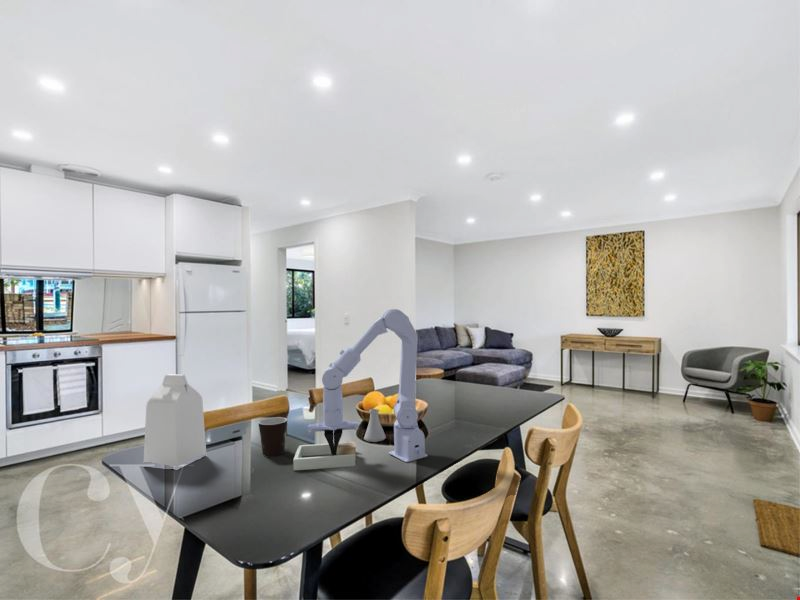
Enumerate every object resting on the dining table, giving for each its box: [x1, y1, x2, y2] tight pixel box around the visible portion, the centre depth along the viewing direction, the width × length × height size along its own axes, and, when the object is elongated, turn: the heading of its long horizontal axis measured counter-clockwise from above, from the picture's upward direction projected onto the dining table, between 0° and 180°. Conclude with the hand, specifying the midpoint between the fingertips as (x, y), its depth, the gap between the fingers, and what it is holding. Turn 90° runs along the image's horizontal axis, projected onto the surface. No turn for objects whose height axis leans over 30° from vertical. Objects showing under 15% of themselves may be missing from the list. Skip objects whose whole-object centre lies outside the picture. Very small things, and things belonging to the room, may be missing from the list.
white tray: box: [292, 441, 356, 471], centre depth 119 cm, size 17×12×3 cm
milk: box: [143, 373, 207, 466], centre depth 122 cm, size 12×12×26 cm
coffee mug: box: [258, 416, 288, 457], centre depth 128 cm, size 12×9×10 cm
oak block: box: [337, 441, 357, 463], centre depth 120 cm, size 5×5×4 cm
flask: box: [363, 408, 387, 443], centre depth 138 cm, size 7×7×10 cm
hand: (334, 455), depth 120 cm, fingers closed
